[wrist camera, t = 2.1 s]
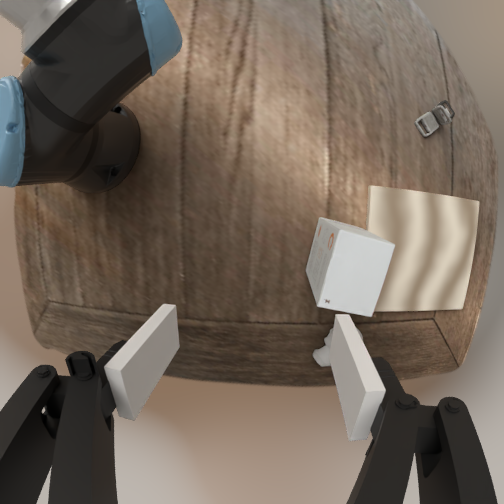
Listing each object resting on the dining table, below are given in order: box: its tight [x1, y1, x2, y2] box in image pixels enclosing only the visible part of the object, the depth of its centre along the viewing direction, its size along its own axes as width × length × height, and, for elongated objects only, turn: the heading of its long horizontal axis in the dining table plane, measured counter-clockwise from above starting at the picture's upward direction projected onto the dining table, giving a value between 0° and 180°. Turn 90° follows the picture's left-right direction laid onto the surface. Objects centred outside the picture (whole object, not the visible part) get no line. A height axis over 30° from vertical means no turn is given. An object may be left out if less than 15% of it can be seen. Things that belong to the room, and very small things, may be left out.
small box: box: [306, 217, 395, 317], centre depth 33 cm, size 8×6×13 cm
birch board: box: [366, 186, 479, 311], centre depth 37 cm, size 20×18×1 cm
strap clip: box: [415, 100, 455, 137], centre depth 32 cm, size 8×3×4 cm, turn 128°
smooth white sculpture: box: [313, 328, 363, 366], centre depth 41 cm, size 4×8×5 cm
